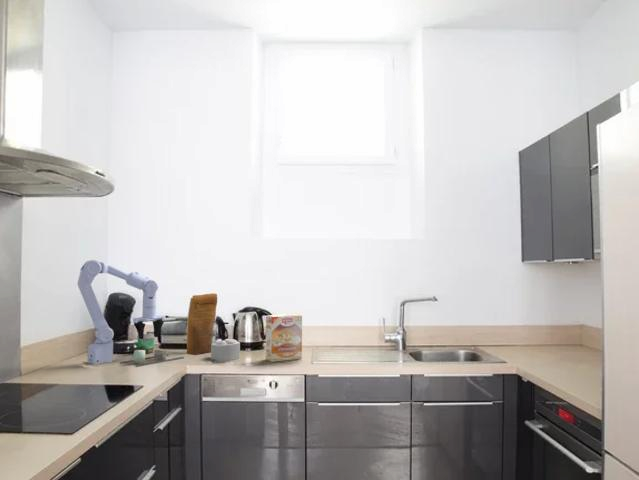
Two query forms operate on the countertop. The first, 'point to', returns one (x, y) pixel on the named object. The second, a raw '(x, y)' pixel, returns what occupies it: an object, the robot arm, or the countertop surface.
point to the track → (152, 362)
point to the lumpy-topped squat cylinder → (225, 350)
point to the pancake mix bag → (201, 323)
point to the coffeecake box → (283, 337)
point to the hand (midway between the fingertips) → (148, 337)
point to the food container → (146, 342)
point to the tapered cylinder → (139, 356)
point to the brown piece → (157, 357)
